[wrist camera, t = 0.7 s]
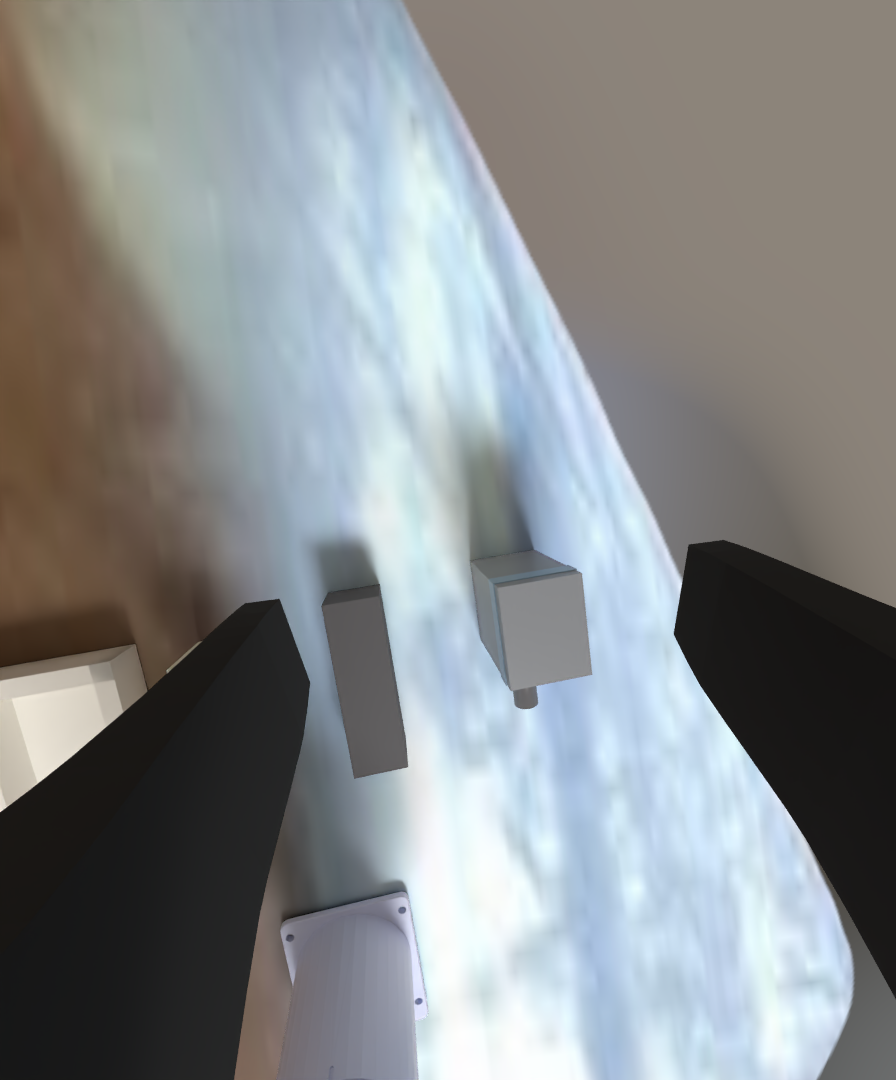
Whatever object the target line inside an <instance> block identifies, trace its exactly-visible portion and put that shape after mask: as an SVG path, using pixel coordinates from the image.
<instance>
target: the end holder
mask: <svg viewBox="0 0 896 1080" xmlns="http://www.w3.org/2000/svg"><path fill="white" fill-rule="evenodd" d="M146 692H147V687H146V683H145V679H144V675H143V671H142V667H141V663H140V660H139V656H138V652H137V648H136V644H132V645H127V646H121V647H115V648H109V649H104V650H98V651H92V652H86V653H81V654H75V655H69V656H63V657H58V658H52V659H46V660H41V661H35V662H29V663H23V664H18V665H12V666H6V667H0V812H1V811H2V810H4V809H5V808H6V807H8V806H9V805H10V804H12V803H13V802H14V801H16V800H17V799H18V798H20V797H21V796H22V795H24V794H25V793H26V792H28V791H29V790H30V789H31V788H33V787H34V786H35V785H37V784H38V783H39V782H40V781H42V780H43V779H44V778H45V777H47V776H48V775H49V774H50V773H52V772H53V771H54V770H56V769H57V768H58V767H59V766H60V765H62V764H63V763H64V762H65V761H67V760H68V759H69V758H70V757H72V756H73V755H74V754H75V753H76V752H78V751H79V750H80V749H81V748H82V747H83V746H85V745H86V744H87V743H88V742H89V741H90V740H92V739H93V738H94V737H95V736H96V735H97V734H99V733H100V732H101V731H102V730H103V729H104V728H106V727H107V726H108V725H109V724H110V723H111V722H113V721H114V720H115V719H116V718H117V717H118V716H120V715H121V714H122V713H123V712H124V711H125V710H127V709H128V708H129V707H130V706H131V705H132V704H134V703H135V702H136V701H137V700H138V699H139V698H141V697H142V696H143V695H144V694H145V693H146Z"/></svg>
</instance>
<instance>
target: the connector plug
mask: <svg viewBox="0 0 896 1080" xmlns="http://www.w3.org/2000/svg"><path fill="white" fill-rule="evenodd" d="M470 565H471V572H472V579H473V586H474V594H475V601H476V608H477V615H478V623H479V630H480V637H481V641H482V643H483V644H484V646H485V648H486V649H487V651H488V653H489V654H490V656H491V658H492V660H493V661H494V663H495V665H496V666H497V668H498V670H499V671H500V673H501V677H502V679H503V681H504V683H505V684H506V686H507V685H508V687H509V688H510V690H511V691H513V694H514V702H515V706H516V707H518V708H521V709H530V708H533V707H535V706H537V704H538V697H537V689H536V686H538V685H543V684H548V683H553V682H558V681H563V680H568V679H573V678H578V677H583V676H588V675H592V669H591V659H590V649H589V639H588V629H587V619H586V609H585V600H584V590H583V580H582V573H580V572H578V571H577V569H576V568H574V567H571V566H569V565H564V564H562V563H560V562H558V561H556V560H554V559H552V558H550V557H548V556H546V555H544V554H542V553H540V552H538V551H536V550H530V551H524V552H518V553H512V554H506V555H500V556H494V557H488V558H482V559H476V560H471V561H470Z"/></svg>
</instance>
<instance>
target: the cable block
mask: <svg viewBox="0 0 896 1080" xmlns="http://www.w3.org/2000/svg"><path fill="white" fill-rule="evenodd" d="M322 611H323V616H324V621H325V627H326V632H327V637H328V642H329V648H330V653H331V658H332V664H333V669H334V674H335V679H336V685H337V690H338V695H339V700H340V706H341V711H342V716H343V721H344V727H345V732H346V737H347V742H348V748H349V753H350V758H351V763H352V769H353V774H354V779H355V778H359V777H364V776H369V775H373V774H378V773H383V772H388V771H392V770H397V769H402V768H406V767H408V761H407V748H406V738H405V732H404V726H403V720H402V714H401V708H400V702H399V696H398V690H397V684H396V679H395V673H394V667H393V661H392V655H391V649H390V643H389V637H388V631H387V625H386V619H385V613H384V608H383V602H382V596H381V590H380V584H378V585H373V586H367V587H361V588H355V589H349V590H343V591H337V592H331V593H328V594H327V596H326V598H325V600H324V602H323V604H322Z"/></svg>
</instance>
